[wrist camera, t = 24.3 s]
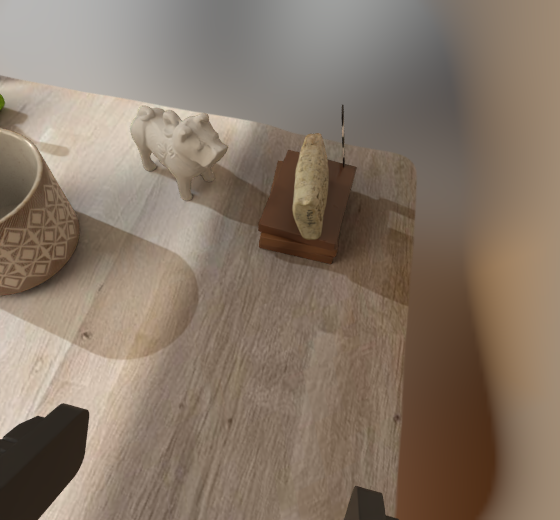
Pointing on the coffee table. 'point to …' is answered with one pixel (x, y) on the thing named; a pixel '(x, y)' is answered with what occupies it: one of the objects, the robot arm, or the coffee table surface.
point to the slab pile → (280, 221)
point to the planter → (31, 217)
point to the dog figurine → (177, 145)
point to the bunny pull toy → (1, 102)
